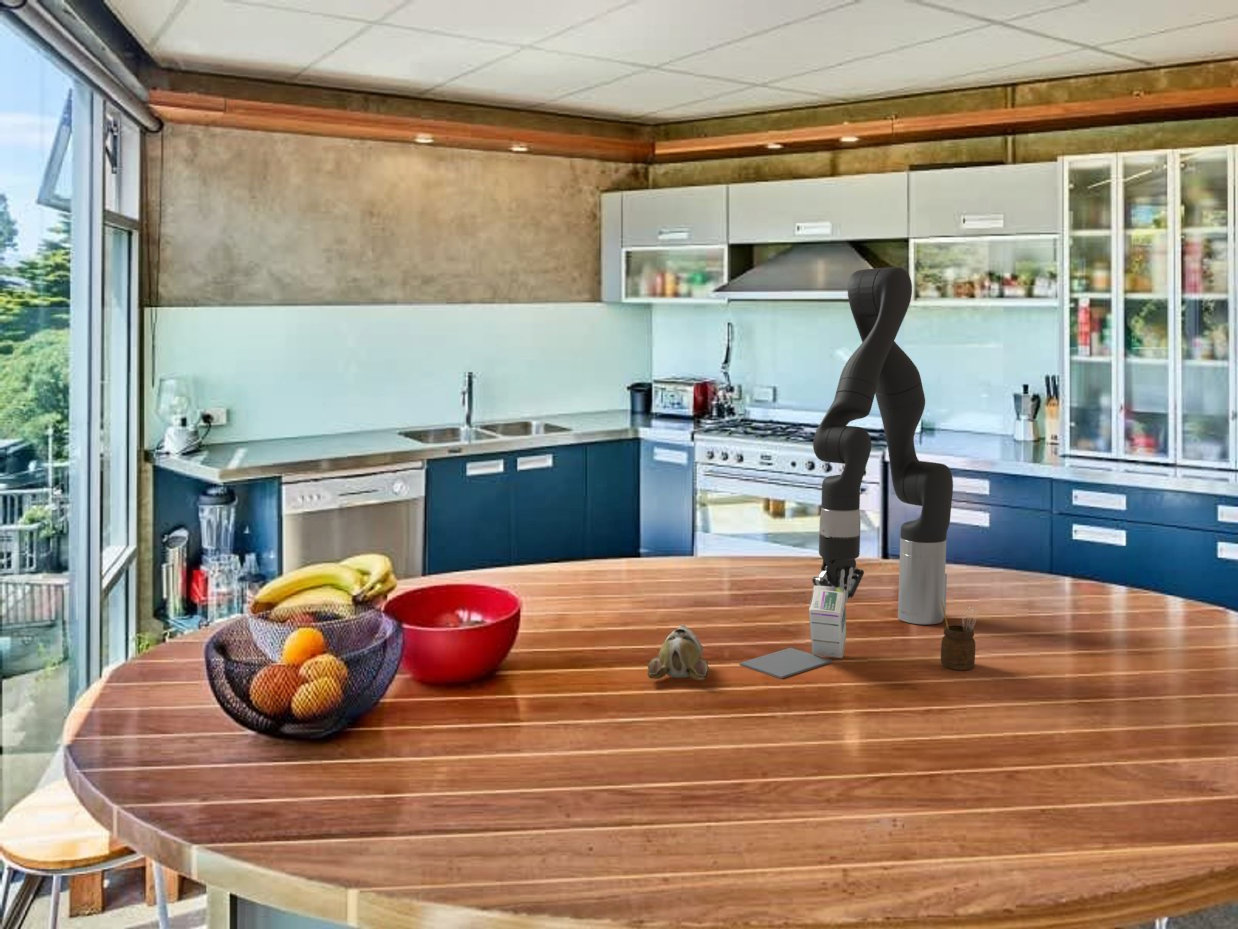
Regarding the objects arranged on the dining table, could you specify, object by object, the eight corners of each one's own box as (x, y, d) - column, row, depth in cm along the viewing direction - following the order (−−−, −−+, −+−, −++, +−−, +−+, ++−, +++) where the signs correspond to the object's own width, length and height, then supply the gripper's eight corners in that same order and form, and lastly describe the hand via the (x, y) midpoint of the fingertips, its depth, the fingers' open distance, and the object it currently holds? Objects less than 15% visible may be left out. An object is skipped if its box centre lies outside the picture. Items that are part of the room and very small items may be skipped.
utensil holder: (976, 672, 191) (979, 606, 189) (939, 669, 192) (942, 604, 191) (972, 661, 197) (975, 598, 195) (937, 659, 198) (939, 596, 196)
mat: (790, 649, 204) (790, 647, 204) (832, 662, 197) (832, 660, 197) (739, 665, 196) (739, 662, 195) (781, 678, 188) (781, 676, 188)
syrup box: (842, 659, 198) (842, 614, 188) (810, 654, 200) (808, 609, 189) (846, 633, 202) (846, 587, 191) (815, 629, 204) (813, 583, 193)
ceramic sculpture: (712, 616, 195) (707, 646, 181) (712, 661, 197) (707, 694, 183) (654, 615, 197) (644, 644, 182) (655, 659, 199) (645, 692, 184)
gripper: (845, 524, 208) (843, 611, 210) (801, 533, 199) (799, 623, 202) (877, 530, 202) (874, 619, 205) (833, 539, 194) (830, 632, 196)
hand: (837, 621), depth 203 cm, fingers closed
